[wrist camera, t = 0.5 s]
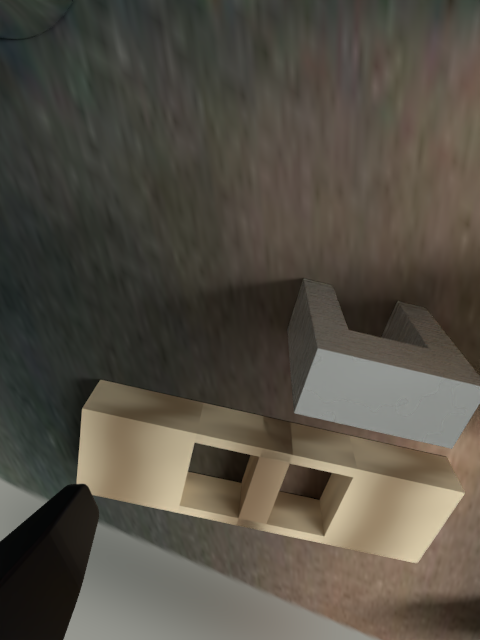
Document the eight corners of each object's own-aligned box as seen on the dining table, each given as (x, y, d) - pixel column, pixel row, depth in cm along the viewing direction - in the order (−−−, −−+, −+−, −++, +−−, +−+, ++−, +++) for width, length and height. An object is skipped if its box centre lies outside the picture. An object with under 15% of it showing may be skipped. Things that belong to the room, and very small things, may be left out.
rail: (447, 457, 24) (465, 492, 22) (404, 525, 27) (417, 563, 24) (100, 379, 23) (82, 408, 21) (92, 458, 26) (75, 491, 24)
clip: (425, 307, 20) (488, 388, 14) (402, 356, 21) (451, 448, 16) (303, 278, 20) (317, 348, 14) (287, 329, 21) (294, 413, 15)
